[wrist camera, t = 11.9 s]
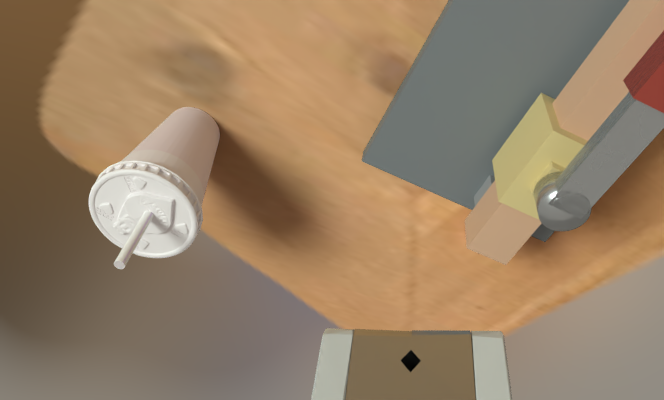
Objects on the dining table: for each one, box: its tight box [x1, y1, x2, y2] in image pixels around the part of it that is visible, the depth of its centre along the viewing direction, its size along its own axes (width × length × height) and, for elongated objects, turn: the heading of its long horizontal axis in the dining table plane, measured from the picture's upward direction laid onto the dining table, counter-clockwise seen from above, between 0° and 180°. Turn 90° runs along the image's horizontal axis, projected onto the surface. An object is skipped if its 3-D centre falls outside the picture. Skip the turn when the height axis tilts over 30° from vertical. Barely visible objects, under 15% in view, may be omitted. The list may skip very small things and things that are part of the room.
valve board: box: [362, 0, 664, 265], centre depth 35 cm, size 20×14×7 cm
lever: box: [534, 31, 664, 231], centre depth 30 cm, size 13×3×2 cm, turn 156°
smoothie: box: [89, 107, 220, 269], centre depth 38 cm, size 6×6×14 cm
